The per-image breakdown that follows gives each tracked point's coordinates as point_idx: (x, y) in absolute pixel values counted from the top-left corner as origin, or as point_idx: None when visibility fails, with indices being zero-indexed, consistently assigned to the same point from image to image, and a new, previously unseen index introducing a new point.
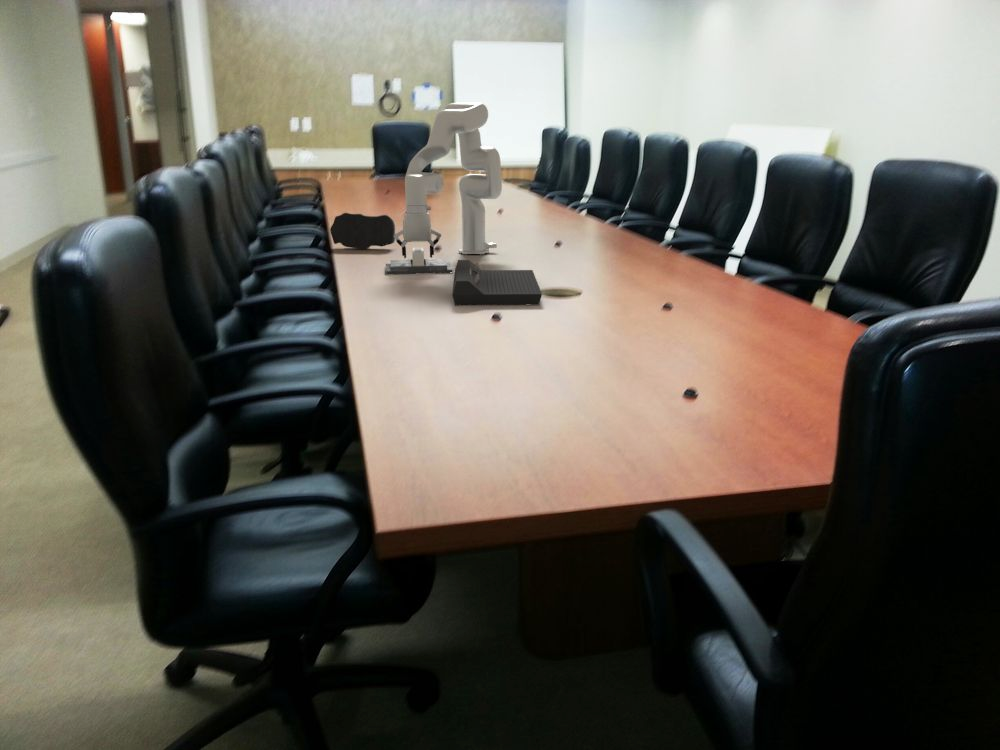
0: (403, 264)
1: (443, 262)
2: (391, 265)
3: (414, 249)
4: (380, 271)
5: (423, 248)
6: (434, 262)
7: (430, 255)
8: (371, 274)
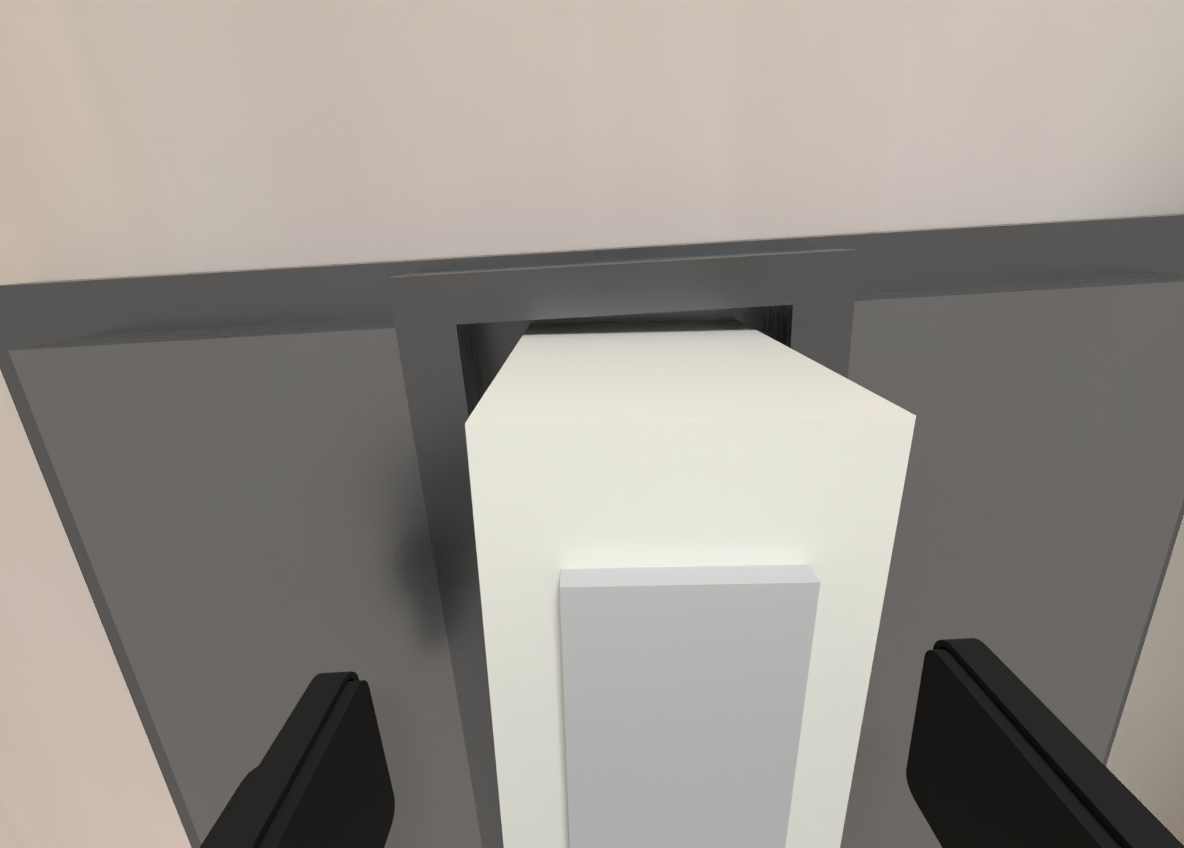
0: (389, 768)
1: (1090, 653)
2: (210, 826)
3: (557, 761)
4: (82, 630)
5: (881, 598)
6: (930, 644)
7: (934, 826)
8: (37, 789)
